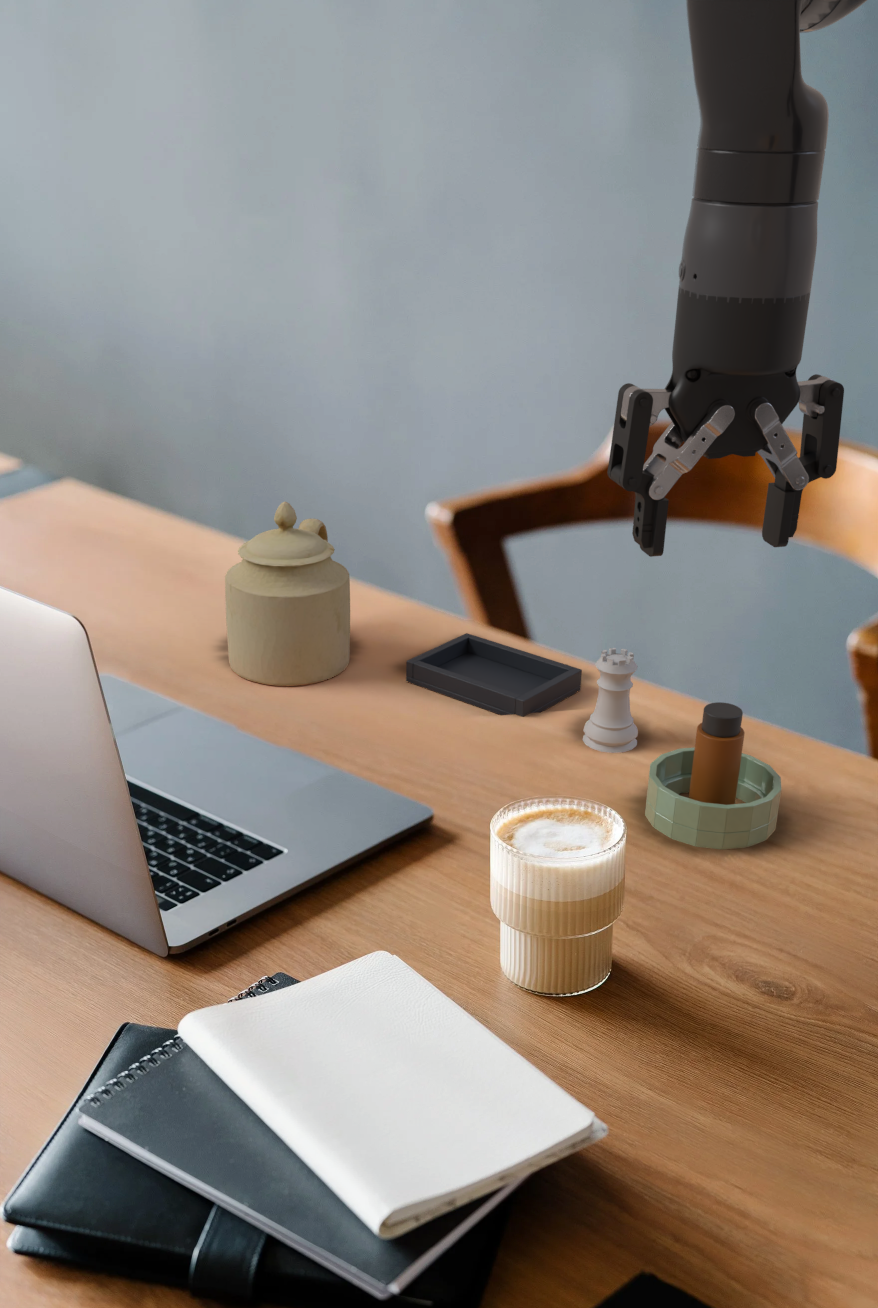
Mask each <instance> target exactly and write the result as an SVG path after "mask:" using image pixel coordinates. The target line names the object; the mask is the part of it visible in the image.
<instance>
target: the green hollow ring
mask: <svg viewBox="0 0 878 1308" xmlns="http://www.w3.org/2000/svg"><path fill="white" fill-rule="evenodd" d="M694 749H695V746H693V747H680V748H677V749H673V750H671V751H668V752H664V753H662V754H660V755H659V756H658V757H656V758H655V759H654V760H653V761H652V762H651V763H650V764H649V770H648V771H649V772H648V781H647V791H646V798H645V799H646V800H645V811H644V817H646V819H647V821H648V822H649V823H650V825H651V826H652V828H654V829H655V830H657V831H658V832H660V833H661V834H663V835H665V836H666V837H668V838H669V839H672V840H673V841H677V842H679V843H683V844H687V845H690V846H691V847H692V846H693V847H695V848H703V849H713V850H722V851H723V850H733V849H745V848H750V847H753V846H755V845H757V844H760V843H763V842H765V841H767V840H768V839H769V838H770V836H771V835H773V833H774V832H775V831H776V829H777V822H778V815H779V809H780V803H781V796H782V788H783V787H782V778H781V776H780V774H778V772H776V770H775V769H774V768H773V767H772V766H771V765H770V764H768V763H767V762H764V761H763V760H761V759H758V758H757V757H755V756H753V755H751V754H747V753H743V752H742V756H741V763H740V770H739V778H738V785H737V792H736V799H738V800H740V801H741V802H742V803H735V804H730V805H723V804H714V803H705V802H700V801H697V800H693V799H690V798H689V797H687V796H683V795H680V794H687V793H688V794H689V791H690V783H691V774H692V766H693V757H694ZM743 802H744V803H743Z"/></svg>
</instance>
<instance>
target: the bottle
mask: <svg viewBox="0 0 878 1308" xmlns="http://www.w3.org/2000/svg"><path fill="white" fill-rule="evenodd" d="M743 713H744V712H743V710H742V708H741V707H739V706H738V705H735V704H732V703H729V702H718V701H717V702H710V703H708V704H706V705H705V706H704V707H703V713H702V720H701V721H702V722H701V723H699V724H698V725H697V727H696V732H695V741H694V747H695V749H694V757H693V766H692V774H691V783H690V791H689V793H688V798H690V799H693V800H697V801H700V802H705V803H714V804H723V805H730V804H736V799H737V798H736V792H737V785H738V778H739V770H740V763H741V756H742V753H743V748H744V741H745V740H744V739H745V730H744V728H743V727H742V722H743Z"/></svg>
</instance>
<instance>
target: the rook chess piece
mask: <svg viewBox="0 0 878 1308" xmlns="http://www.w3.org/2000/svg"><path fill="white" fill-rule="evenodd" d="M634 656H635V654H634V653H633V652H632V651H629V652H628V649H625V648H621V649H620V653H617V648H616V647H610V648H609V649H608V650H607V649H602V651H601V654H600V657H599V658H598V659H597V660H596V661H595V664H594V665H595V666H594V667H596V669H597V670H598V672H599V673H600V674H599V675H600V676H599V678H598V679H597V680H596V684H597V686H598V693H597V699H596V704H595V707H594V709H593V712H592V713H591V714H590V716H589V719H588V720H587V721H586V722H585V724H584V726H583V729H582V730H583V733H584V734H583V736H582V742H583V743H584V744H585V746H587V747H588V748H590V749H592V750H595V751H598V752H601V753H609V754H610V753H611V754H616V753H625V752H629V751H632V750H633V749H634V748H636V747H637V746H638V740H637V739H636V738H637V737H638V736H639V730H638V727H637V725H636V724H635V722H634V721H635V720H634V717H633V716H632V712H631V702H630V701H631V700H630V693H631V689H632V688H633V687H634V683H633V681H632V679H631V678H632V675H633V674H634V673H635V672H636V671H637V670H638V664H637V663H636V662H635V660H634Z"/></svg>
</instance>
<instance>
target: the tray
mask: <svg viewBox="0 0 878 1308" xmlns="http://www.w3.org/2000/svg"><path fill="white" fill-rule="evenodd" d="M405 662H406V665H405V666H406V667H405V682H406V681H408V682H407V683H409V682H410V684H412V683H413V684H412V685H415V686H417V687H420V686H421V688H423V687H424V689H426V688H427V689H426V690H429V691H432V692H435V693H437V692H438V693H437V694H441V695H444V696H445V697H448V698H449V697H450V698H451V699H454V700H457V701H460V702H463V703H466V704H468V705H471V704H472V705H471V706H474V705H475V706H474V707H477V708H479V709H483V710H485V709H486V710H485V711H488V712H491V713H494V714H497V715H499V714H500V716H511V715H513V716H514V715H516V716H519V717H522V718H524V717H525V716H527V715H529V714H537V713H539V714H541V713H543V712H545V711H546V710H549V708H552V707H553V706H555V705H557V704H559V703H560V702H562V701H564V700H566V699H568V698H569V697H572V696H573V695H575V694H577V693H578V692H580V691H581V688H582V675H583V673H582V672H583V669H581V668H579V667H574V666H571V665H568V664H565V663H562V662H559V661H556V660H553V659H550V658H547V657H543V656H541V655H537V654H533V653H530V652H528V651H525V650H522V649H518V648H515V647H512V646H508V645H505V644H502V643H499V642H496V641H493V640H490V639H487V638H485V637H481V636H477V635H475V634H470V633H468V632H466V633H464V634H461V635H460V636H458V637H455V638H453V639H451V640H448V641H446V642H444V643H442V644H440V645H438V646H436V647H433V648H431V649H429V650H426V651H424V652H422V653H420V654H418V655H416V656H414V657H412V658H410V659H407V660H406V661H405ZM577 691H578V692H577ZM576 692H577V693H576ZM567 697H568V698H567ZM565 698H566V699H565ZM558 702H559V703H558ZM542 711H543V712H542Z"/></svg>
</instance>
